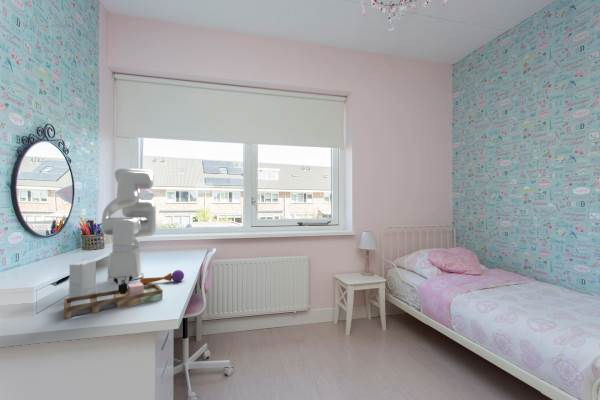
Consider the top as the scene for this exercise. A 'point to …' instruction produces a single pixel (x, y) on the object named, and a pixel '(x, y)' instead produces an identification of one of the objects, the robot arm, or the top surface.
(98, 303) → the box
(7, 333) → the top surface
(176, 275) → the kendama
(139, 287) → the rose block
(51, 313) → the top surface
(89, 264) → the skincare box
